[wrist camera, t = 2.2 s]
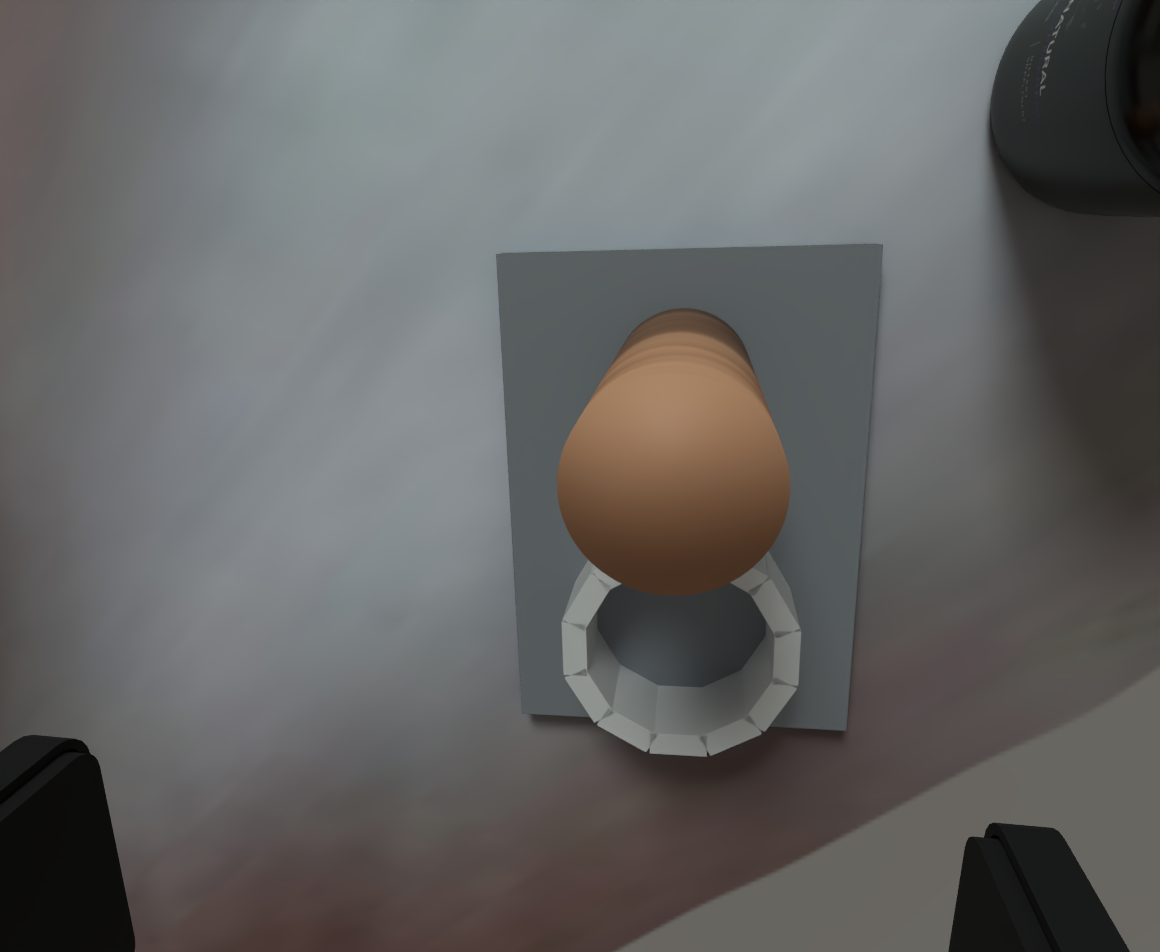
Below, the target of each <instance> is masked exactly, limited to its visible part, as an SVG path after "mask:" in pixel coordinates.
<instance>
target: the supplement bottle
mask: <svg viewBox="0 0 1160 952" xmlns="http://www.w3.org/2000/svg"><path fill="white" fill-rule="evenodd" d="M991 124H992V130H993V136H994V139H995V143H996V146H997V149H998V152H999V154H1000V157H1001V159H1002V160H1003V162H1004V164H1005V166H1006V168H1007V169H1008V171H1009V172H1010V174H1011V175H1012V176H1013V178H1014V179H1015V180H1016V181H1017V182H1018V183H1019V184H1020V185H1021V186H1022V187H1023V188H1024V189H1025V190H1026V191H1027V192H1029V193H1030V194H1031V195H1033V196H1034V197H1036V198H1037V199H1039V200H1041V201H1043V202H1044V203H1046V204H1049V205H1051V206H1053V207H1056V208H1059V209H1062V210H1066V211H1070V212H1075V213H1080V214H1090V215H1102V216H1130V217H1160V0H1041V1H1040V2H1039V3H1038V4H1037V5H1036V6H1035V7H1034V8H1033V9H1032V10H1031V11H1030V12H1029V13H1028V15H1027V16H1026V17H1025V19H1024V20H1023V21H1022V23H1021V24H1020V25H1019V27H1018V28H1017V30H1016V31H1015V33H1014V34H1013V36H1012V38H1011V40H1010V41H1009V43H1008V45H1007V47H1006V49H1005V51H1004V54H1003V56H1002V58H1001V61H1000V63H999V67H998V70H997V73H996V76H995V81H994V85H993V91H992V98H991Z"/></svg>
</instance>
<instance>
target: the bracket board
mask: <svg viewBox="0 0 1160 952" xmlns="http://www.w3.org/2000/svg"><path fill="white" fill-rule="evenodd" d="M882 252H883V245H881V244H851V245H811V246H771V247H731V248H691V249H651V250H611V251H571V252H531V253H501V254H496V260H497V278H498V295H499V313H500V331H501V349H502V367H503V385H504V402H505V420H506V438H507V456H508V474H509V491H510V509H511V527H512V545H513V563H514V581H515V598H516V616H517V634H518V652H519V670H520V687H521V705H522V714H540V715H559V716H578V717H591V719H592V720H593V722H594V723H595V722H597V721H598V723H597V726H599V727H601V728H603V729H605V730H606V731H608V732H610V733H612V734H614V735H615V736H617V737H619V738H621V739H623V740H625V741H626V742H628V743H630V744H632V745H634V746H635V747H637V748H639V749H641V750H643V751H644V752H647V750H648V749H649V747H650V753H651V754H668V755H685V756H703V757H707V751H708V753H709V754H710V756H712V755H714V754H717V753H719V752H721V751H724V750H726V749H728V748H731V747H733V746H735V745H738V744H740V743H742V742H745V741H747V740H749V739H752V738H754V737H756V736H759V735H761V734H762V732H761V730H762V731H764V732H765V731H766V730H767V728H768V727H786V728H805V729H824V730H843V731H846V726H847V713H848V700H849V687H850V674H851V661H852V647H853V634H854V621H855V608H856V595H857V581H858V568H859V555H860V542H861V529H862V516H863V502H864V489H865V476H866V463H867V450H868V437H869V423H870V410H871V397H872V384H873V371H874V357H875V344H876V331H877V318H878V305H879V292H880V278H881V265H882ZM679 308H690V309H697V310H702V311H705V312H708V313H710V314H713V315H715V316H717V317H718V318H720V319H722V320H723V321H725V322H726V323H727V324H728V325H729V326H730V327H732V328H733V330H734V331H735V332H736V333H737V334H738V336H739V337H740V339H741V340H742V342H743V344H744V346H745V348H746V350H747V353H748V355H749V358H750V361H751V363H752V366H753V369H754V371H755V374H756V377H757V380H758V382H759V385H760V388H761V390H762V393H763V396H764V398H765V401H766V404H767V406H768V409H769V412H770V414H771V417H772V420H773V422H774V425H775V428H776V430H777V433H778V436H779V438H780V441H781V444H782V446H783V449H784V453H785V456H786V459H787V462H788V468H789V474H790V498H789V506H788V510H787V514H786V518H785V521H784V524H783V526H782V528H781V531H780V533H779V535H778V537H777V538H776V540H775V542H774V543H773V545H772V547H771V548H770V549H769V550H768V552H767V553H766V554H765V556H764V557H763V558H762V559H761V560H760V561H759V562H758V563H757V564H756V565H755V566H754V567H753V568H751V569H750V570H749V571H747V572H746V573H745V574H743V575H742V576H741V577H739V578H737V579H736V580H734V581H732V582H730V583H728V584H726V585H724V586H721V587H719V588H717V589H714V590H710V591H707V592H703V593H699V594H692V595H684V596H667V595H656V594H652V593H647V592H642V591H639V590H636V589H633V588H630V587H628V586H626V585H624V584H622V583H619V582H617V581H615V580H614V579H612V578H611V577H609V576H607V575H606V574H604V573H603V572H602V571H600V570H599V569H598V568H597V567H596V566H594V565H593V564H592V563H591V562H590V561H589V560H588V559H587V558H586V557H585V556H584V555H583V553H582V552H581V551H580V549H579V548H578V547H577V545H576V544H575V543H574V541H573V539H572V537H571V536H570V534H569V532H568V530H567V528H566V525H565V523H564V520H563V518H562V515H561V511H560V506H559V502H558V493H557V473H558V467H559V461H560V458H561V454H562V451H563V448H564V445H565V443H566V441H567V439H568V437H569V435H570V433H571V431H572V429H573V428H574V426H575V424H576V423H577V421H578V419H579V418H580V416H581V414H582V413H583V411H584V409H585V408H586V406H587V404H588V403H589V401H590V399H591V397H592V396H593V394H594V392H595V391H596V389H597V387H598V386H599V384H600V382H601V381H602V379H603V377H604V376H605V374H606V372H607V371H608V369H609V367H610V366H611V364H612V362H613V361H614V359H615V357H616V356H617V354H618V352H619V351H620V349H621V347H622V346H623V344H624V342H625V341H626V339H627V338H628V336H629V335H630V334H631V333H632V331H633V330H634V329H635V328H636V327H637V326H638V325H640V324H641V323H642V322H643V321H645V320H646V319H648V318H649V317H651V316H653V315H655V314H658V313H660V312H663V311H666V310H671V309H679Z"/></svg>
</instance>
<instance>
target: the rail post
mask: <svg viewBox="0 0 1160 952" xmlns="http://www.w3.org/2000/svg"><path fill="white" fill-rule="evenodd" d="M557 493H558V502H559V506H560V511H561V515H562V518H563V520H564V523H565V525H566V528H567V530H568V532H569V534H570V536H571V537H572V539H573V541H574V543H575V544H576V545H577V547H578V548H579V549H580V551H581V552H582V553H583V555H584V556H585V557H586V558H587V559H588V560H589V561H590V562H591V563H592V564H593V565H594V566H596V567H597V568H598V569H599V570H600V571H602V572H603V573H604V574H606V575H607V576H609V577H611V578H612V579H614V580H615V581H617V582H619V583H622V584H624V585H626V586H628V587H630V588H633V589H636V590H639V591H642V592H647V593H652V594H656V595H667V596H684V595H692V594H699V593H703V592H707V591H710V590H714V589H717V588H719V587H721V586H724V585H726V584H728V583H730V582H732V581H734V580H736V579H737V578H739V577H741V576H742V575H743V574H745V573H746V572H747V571H749V570H750V569H751V568H753V567H754V566H755V565H756V564H757V563H758V562H759V561H760V560H761V559H762V558H763V557H764V556H765V554H766V553H767V552H768V550H769V549H770V548H771V547H772V545H773V543H774V542H775V540H776V538H777V537H778V535H779V533H780V531H781V528H782V526H783V524H784V521H785V518H786V514H787V510H788V506H789V498H790V474H789V468H788V462H787V459H786V456H785V453H784V449H783V446H782V444H781V441H780V438H779V436H778V433H777V430H776V428H775V425H774V422H773V420H772V417H771V414H770V412H769V409H768V406H767V404H766V401H765V398H764V396H763V393H762V390H761V388H760V385H759V382H758V380H757V377H756V374H755V371H754V369H753V366H752V363H751V361H750V358H749V355H748V353H747V350H746V348H745V346H744V344H743V342H742V340H741V339H740V337H739V336H738V334H737V333H736V332H735V331H734V330H733V328H732V327H730V326H729V325H728V324H727V323H726V322H725V321H723V320H722V319H720V318H718V317H717V316H715V315H713V314H710V313H708V312H705V311H702V310H697V309H690V308H679V309H671V310H666V311H663V312H660V313H658V314H655V315H653V316H651V317H649V318H648V319H646V320H645V321H643V322H642V323H641V324H640V325H638V326H637V327H636V328H635V329H634V330H633V331H632V333H631V334H630V335H629V336H628V338H627V339H626V341H625V342H624V344H623V346H622V347H621V349H620V351H619V352H618V354H617V356H616V357H615V359H614V361H613V362H612V364H611V366H610V367H609V369H608V371H607V372H606V374H605V376H604V377H603V379H602V381H601V382H600V384H599V386H598V387H597V389H596V391H595V392H594V394H593V396H592V397H591V399H590V401H589V403H588V404H587V406H586V408H585V409H584V411H583V413H582V414H581V416H580V418H579V419H578V421H577V423H576V424H575V426H574V428H573V429H572V431H571V433H570V435H569V437H568V439H567V441H566V443H565V445H564V448H563V451H562V454H561V458H560V461H559V467H558V473H557Z"/></svg>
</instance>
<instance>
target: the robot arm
mask: <svg viewBox="0 0 1160 952" xmlns="http://www.w3.org/2000/svg"><path fill="white" fill-rule="evenodd" d="M134 951H135V936H134V931H133V927H132V922H131V917H130V912H129V907H128V902H127V897H126V892H125V887H124V882H123V878H122V873H121V868H120V863H119V858H118V853H117V848H116V843H115V838H114V833H113V828H112V824H111V819H110V814H109V809H108V804H107V799H106V794H105V789H104V784H103V779H102V775H101V770H100V765H99V763H98V760H97V759H96V758H95V757H94V756H93V755H91V754H90V752H89V749H88V747H87V746H86V745H85V744H84V743H83V742H82V741H80V740H77V739H71V738H60V737H49V736H38V735H30V736H24V737H22V738H20V739H18V740H16V741H14V742H13V743H12V744H10V745H9V746H8V747H6V748H5V749H4V750H2V751H1V752H0V952H134ZM949 952H1130V951H1129V949H1128V948H1127V946H1126V944H1125V942H1124V941H1123V939H1122V937H1121V935H1120V934H1119V932H1118V931H1117V929H1116V927H1115V925H1114V923H1113V922H1112V920H1111V918H1110V917H1109V915H1108V913H1107V911H1106V910H1105V908H1104V906H1103V904H1102V903H1101V901H1100V899H1099V898H1098V896H1097V894H1096V893H1095V891H1094V889H1093V887H1092V886H1091V884H1090V882H1089V880H1088V879H1087V877H1086V875H1085V873H1084V872H1083V870H1082V868H1081V867H1080V865H1079V863H1078V861H1077V860H1076V858H1075V856H1074V855H1073V853H1072V851H1071V849H1070V848H1069V846H1068V844H1067V842H1066V841H1065V839H1064V838H1063V836H1062V835H1061V834H1060V832H1059V831H1057V830H1055V829H1054V828H1047V827H1036V826H1024V825H1014V824H1003V823H1002V824H1001V823H992V824H989V826H988V828H987V829H986V832H985V836H984V838H982V837H969V838H968V840H967V842H966V846H965V850H964V857H963V863H962V869H961V876H960V882H959V889H958V895H957V901H956V908H955V913H954V920H953V926H952V933H951V939H950V945H949Z"/></svg>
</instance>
